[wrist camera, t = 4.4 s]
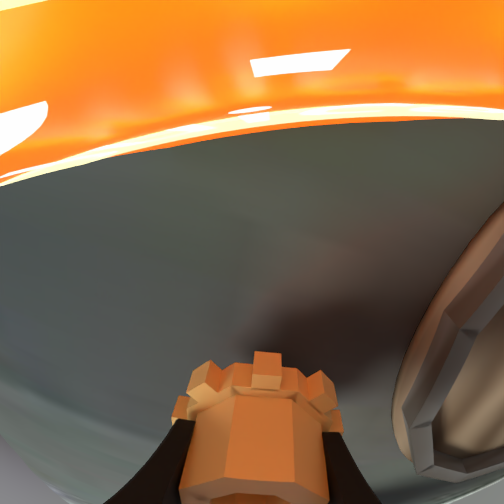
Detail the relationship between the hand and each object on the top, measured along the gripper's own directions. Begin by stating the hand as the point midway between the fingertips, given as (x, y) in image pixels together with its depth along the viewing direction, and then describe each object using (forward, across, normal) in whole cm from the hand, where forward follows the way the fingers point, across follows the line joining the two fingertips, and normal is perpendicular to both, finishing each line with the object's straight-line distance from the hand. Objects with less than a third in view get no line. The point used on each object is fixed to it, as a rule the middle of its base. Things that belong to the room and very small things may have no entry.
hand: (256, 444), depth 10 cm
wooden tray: (+5, -19, -1) cm, 20 cm away
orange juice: (+5, +1, -14) cm, 15 cm away
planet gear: (+2, 0, 0) cm, 2 cm away
